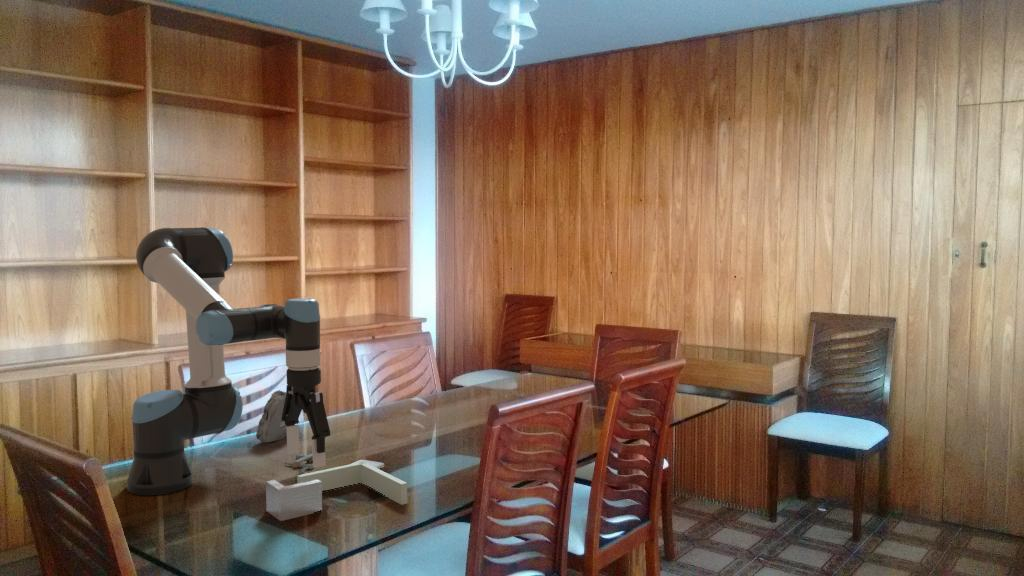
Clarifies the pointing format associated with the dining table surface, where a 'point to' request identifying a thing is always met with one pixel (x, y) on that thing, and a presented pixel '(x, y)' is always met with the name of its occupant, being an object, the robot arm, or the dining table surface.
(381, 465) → the hard drive
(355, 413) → the dining table surface
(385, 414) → the dining table surface
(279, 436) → the decorative rock
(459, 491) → the dining table surface
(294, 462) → the clamp
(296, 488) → the bracket
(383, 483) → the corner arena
